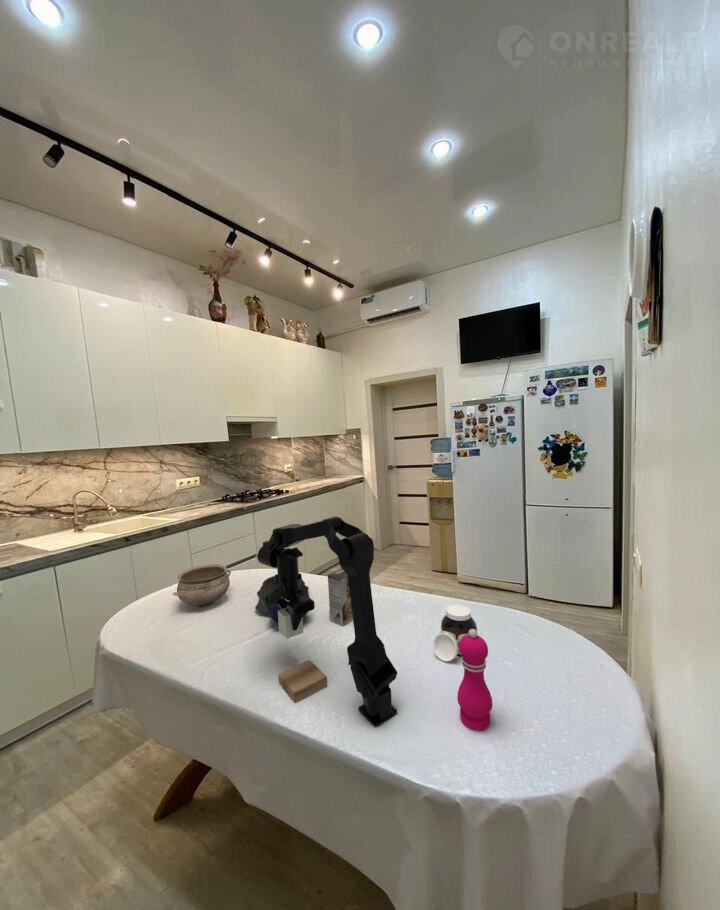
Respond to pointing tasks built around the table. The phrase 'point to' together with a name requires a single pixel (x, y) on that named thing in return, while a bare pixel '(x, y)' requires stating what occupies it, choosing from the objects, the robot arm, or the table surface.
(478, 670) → the pepper mill
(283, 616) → the sage cube
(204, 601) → the cooking pot
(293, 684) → the walnut block
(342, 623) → the coffee box
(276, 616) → the decorative orb
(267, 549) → the robot arm
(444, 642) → the spread jar
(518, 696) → the table surface
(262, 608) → the casserole
